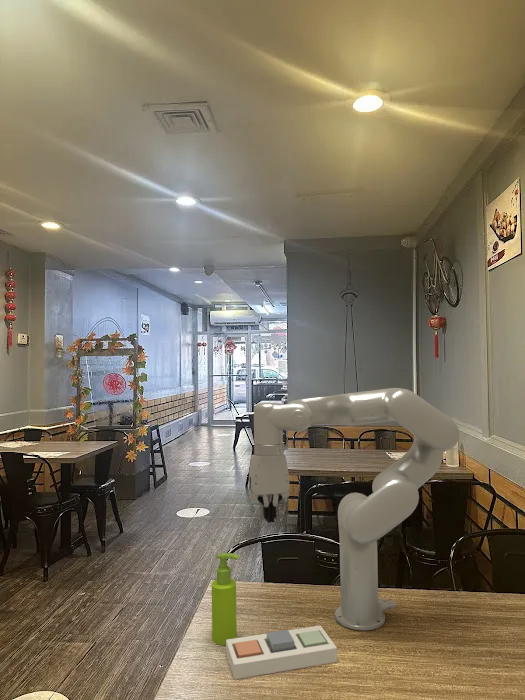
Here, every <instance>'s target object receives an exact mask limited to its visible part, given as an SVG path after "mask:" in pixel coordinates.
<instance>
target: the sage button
mask: <svg viewBox="0 0 525 700" xmlns="http://www.w3.org/2000/svg"><path fill="white" fill-rule="evenodd" d="M298 639H299V641H300V642H301V644H302V646H303V647H304V648H306V647H313V646H319V645H325V644H326V640H325V639H324V638H323V636H322V635H321V633H320V632H319V630H316V631H310V632H303V633H298Z"/></svg>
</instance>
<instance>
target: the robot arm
mask: <svg viewBox="0 0 525 700" xmlns="http://www.w3.org/2000/svg"><path fill="white" fill-rule="evenodd" d="M386 422H396V423H397V424H399V425H400V426H402V427H403V428H404V429H405V430H407V431H408V432H409V433H411V434H412V435H413V441H412V445H411V447H409V449H408V451H407V452H405V453H404V454H403V455H402V456H401V457H400V458H399V459H397V460H396V461H395V462H393V463H392V464H391V465H389V466H388V467H387V468H385V469H384V470H382V471H381V472H380V473H378V474H377V475H376V476H375V478H374V479H373V481H372V483H371V484H372V485H371V487H372V493H371V494H369V495H368V496H367V495H365V494H364V493H361V492H360V493H359V492H350V493H348V494H346V495H345V496H344V497H343V498H342V499H341V500H340V502H339V504H338V508H337V520H338V521H337V522H338V523H337V524H338V534H339V537H338V538H339V567H340V568H339V574H340V577H339V578H340V579H339V580H340V605H339V606H337V608H336V609H335V612H334V617H335V620H336V621H337V622H338V624H340V625H342V626H343V627H345V628H348V629H350V630H354V631H355V630H356V631H372V630H376V629H379V628H380V627H382V626H383V625H384V624H385V621H386V616H385V612H386V610H394V609H397V604H396V601H395V600H387V598H386V597H381V598H379V575H378V573H379V571H378V540H379V539H381V538H382V537H384V536H385V535H387V534H388V533H389V532H390V531H392V530H393V529H394V528H396V527H398V525H400V524H401V523H403V521H405V520H407V518H408V517H409V516H411V515H412V514H413V513H414V511H415V510H416V508H417V506H418V504H419V500H420V495H419V489H420V488H421V487H423V485H424V484H426V483H427V481H429V480H430V479H432V478H433V476H434V475H435V474H437V471H438V470H439V469H440V467H441V465H442V463H443V458H444V453H445V452H446V451H450V450H452V449H453V448H454V447H455V446H456V445H457V444H458V442H459V439H460V430H459V426H458V425H457V423H456V422H455V421H454V420H453V418H450V417H449V416H448V415H446V414H445V413H443V412H442V411H440V410H439V409H437V408H436V407H435V406H433V405H432V404H430V403H429V402H428V401H426V400H425V399H423V398H422V397H421V396H420V395H418V394H416V393H415V392H413V391H412V390H410V389H407V388H400V387H389V388H382V389H381V388H380V389H373V390H367V391H366V390H363V391H356V392H348V393H341V394H335V395H329V396H319V397H318V396H317V397H310V398H309V397H308V398H300V399H295V400H291V401H289V402H287V403H283V404H280V403H278V402H258V403H257V404H255V405H254V408H253V431H254V432H253V441H254V448H253V449H254V451H253V452H254V454H252V455H251V456H250V462H249V471H248V489H249V495H248V498H249V499H250V500H252V501H256V502H257V501H258V502H259V503H260V504H261V505H262V508H263V510H262V511H263V513H262V514H263V519H265V521H266V522H267V523H268V524H270V523H275V519H276V518H277V506H278V504H279V503H280V501H281V500H282V499H285V498H288V497H290V495H291V493H290V474H289V468H288V462H287V457H286V456H287V455H286V454H285V451H287V450H289V445H288V444H284V438H283V437H284V435H283V433H284V431H288V432H298V433H299V432H302V431H305V430H307V429H308V428H310V426H316V425H329V424H331V425H332V424H335V425H340V426H361V425H369V424H379V423H386ZM269 496H270V502H269V498H268V497H269Z"/></svg>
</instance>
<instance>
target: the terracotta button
mask: <svg viewBox="0 0 525 700" xmlns="http://www.w3.org/2000/svg"><path fill="white" fill-rule="evenodd" d="M234 649H235V654H236V657H237V659H238V658H245V657H251V656H257V655H262V654H261V650H260V647H259V645H258V643H257V641H256V640H251V641H244V642H238V643H234Z"/></svg>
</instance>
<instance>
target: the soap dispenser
mask: <svg viewBox="0 0 525 700" xmlns="http://www.w3.org/2000/svg"><path fill="white" fill-rule="evenodd" d="M240 557H241V555H239V554H237V553H230V552H219V553H218V554H217V556H216V559H219V566H217V568H216V579H215V580H213V581H212V582H211V638H212V639H211V640H212V643H214V644H215V645H218V646H226V640H227V639H234V638H238V637H237V636H238V635H237V630H238V628H237V627H238V626H237V582H236V580H234V579H233V578H231V577H232V576H231V575H232V574H231V573H232V571H231V567H230V566H228V559H229V560H236V561H238V560H239V558H240Z"/></svg>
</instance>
